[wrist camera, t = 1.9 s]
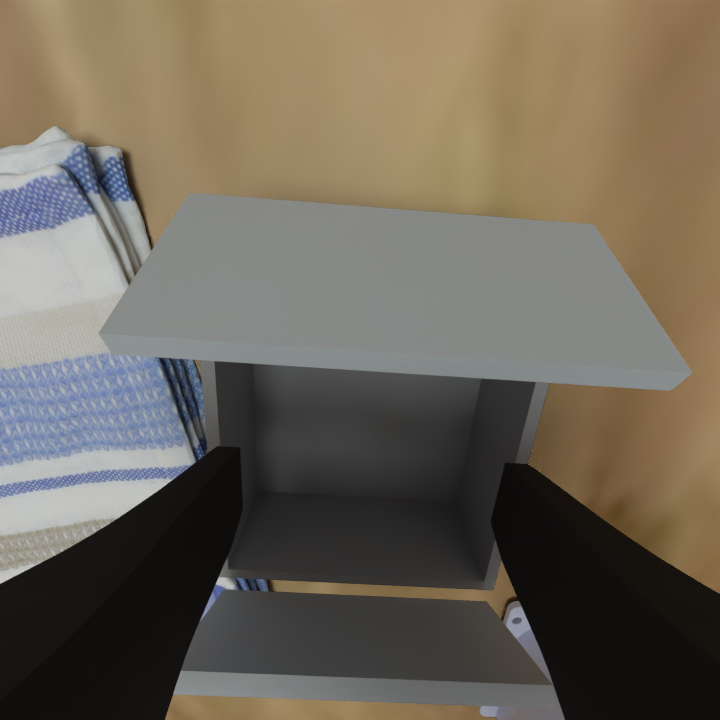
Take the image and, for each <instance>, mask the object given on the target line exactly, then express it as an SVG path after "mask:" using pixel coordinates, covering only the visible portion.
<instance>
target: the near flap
mask: <svg viewBox="0 0 720 720" xmlns="http://www.w3.org/2000/svg"><path fill="white" fill-rule="evenodd" d="M98 334H99V336H100V337H101V338H102V340H103V341H104V343H105V344H106V346H107V347H108V349H109V350H110V352H111V353H112V354H114V355H129V356H145V357H160V358H175V359H191V360H206V361H222V362H237V363H252V364H268V365H283V366H299V367H314V368H329V369H345V370H360V371H376V372H391V373H406V374H422V375H437V376H453V377H468V378H483V379H499V380H514V381H530V382H545V383H560V384H576V385H591V386H607V387H622V388H637V389H653V390H668V391H671V390H672V389H674V388H675V387H676V386H677V385H679V384H680V383H681V382H682V381H684V380H685V379H686V378H687V377H688V376H690V375H691V374H692V371H691V370H690V368H689V367H688V365H687V364H686V362H685V361H684V359H683V358H682V356H681V355H680V353H679V352H678V350H677V349H676V347H675V346H674V344H673V343H672V341H671V340H670V338H669V337H668V335H667V334H666V332H665V331H664V329H663V328H662V326H661V325H660V323H659V322H658V320H657V319H656V317H655V316H654V314H653V313H652V311H651V310H650V308H649V307H648V305H647V304H646V302H645V301H644V299H643V298H642V296H641V295H640V293H639V292H638V290H637V289H636V287H635V286H634V284H633V283H632V281H631V280H630V278H629V277H628V275H627V274H626V272H625V271H624V269H623V268H622V266H621V265H620V263H619V262H618V260H617V259H616V257H615V256H614V254H613V253H612V251H611V250H610V248H609V247H608V245H607V244H606V242H605V241H604V239H603V238H602V236H601V235H600V233H599V232H598V230H597V229H596V227H595V226H594V224H582V223H569V222H556V221H544V220H531V219H518V218H505V217H493V216H480V215H467V214H454V213H442V212H429V211H416V210H403V209H391V208H378V207H365V206H352V205H340V204H327V203H314V202H301V201H289V200H276V199H263V198H251V197H238V196H225V195H212V194H200V193H189V194H188V196H187V197H186V199H185V200H184V202H183V203H182V205H181V206H180V208H179V209H178V211H177V212H176V214H175V216H174V217H173V219H172V220H171V222H170V223H169V225H168V226H167V228H166V229H165V231H164V233H163V234H162V236H161V237H160V239H159V240H158V242H157V243H156V245H155V246H154V248H153V249H152V251H151V253H150V254H149V256H148V257H147V259H146V260H145V262H144V263H143V265H142V266H141V268H140V270H139V271H138V273H137V274H136V276H135V277H134V279H133V280H132V282H131V283H130V285H129V286H128V288H127V290H126V291H125V293H124V294H123V296H122V297H121V299H120V300H119V302H118V303H117V305H116V306H115V308H114V310H113V311H112V313H111V314H110V316H109V317H108V319H107V320H106V322H105V323H104V325H103V327H102V328H101V330H100V331H99V333H98Z"/></svg>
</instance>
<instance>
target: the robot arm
mask: <svg viewBox="0 0 720 720" xmlns="http://www.w3.org/2000/svg"><path fill="white" fill-rule="evenodd" d="M242 510H243V498H242V476H241V455H240V447H226V446H217V447H215V448H214V449H212V450H211V451H210V452H208V453H207V454H206V455H205V456H203V457H202V458H201V459H199V460H198V461H197V462H195V463H194V464H193V465H192V466H190V467H189V468H188V469H186V470H185V471H184V472H182V473H181V474H180V475H178V476H177V477H176V478H174V479H173V480H172V481H170V482H169V483H168V484H166V485H165V486H164V487H162V488H161V489H160V490H158V491H157V492H156V493H154V494H153V495H151V496H150V497H148V498H147V499H145V500H144V501H142V502H141V503H139V504H138V505H137V506H135V507H134V508H132V509H131V510H129V511H128V512H126V513H125V514H123V515H122V516H120V517H119V518H118V519H116V520H114V521H113V522H111V523H110V524H108V525H106V526H105V527H103V528H102V529H100V530H98V531H97V532H95V533H93V534H92V535H90V536H88V537H87V538H85V539H83V540H81V541H80V542H78V543H76V544H75V545H73V546H71V547H69V548H68V549H66V550H64V551H62V552H60V553H59V554H57V555H55V556H53V557H51V558H49V559H47V560H45V561H43V562H41V563H39V564H38V565H36V566H34V567H32V568H30V569H28V570H26V571H24V572H22V573H20V574H18V575H16V576H14V577H12V578H10V579H8V580H6V581H4V582H3V583H1V584H0V720H165V717H166V714H167V711H168V708H169V705H170V702H171V699H172V696H173V693H174V690H175V687H176V684H177V681H178V678H179V675H180V672H181V669H182V666H183V663H184V660H185V657H186V654H187V652H188V649H189V647H190V644H191V641H192V639H193V636H194V634H195V631H196V629H197V627H198V624H199V622H200V620H201V617H202V615H203V613H204V610H205V608H206V606H207V603H208V601H209V599H210V596H211V594H212V592H213V589H214V587H215V585H216V582H217V580H218V578H219V575H220V573H221V571H222V568H223V566H224V564H225V561H226V559H227V557H228V554H229V552H230V549H231V547H232V544H233V541H234V538H235V534H236V531H237V528H238V524H239V521H240V517H241V514H242ZM491 525H492V529H493V532H494V536H495V540H496V543H497V547H498V550H499V553H500V556H501V559H502V562H503V564H504V567H505V569H506V571H507V574H508V576H509V579H510V581H511V583H512V586H513V588H514V590H515V593H516V595H517V597H518V600H519V601H514V602H511V603H510V604H509V605H508V607H507V610H506V613H505V616H504V620H503V623H504V624H505V625H506V627H507V628H508V629H509V630H510V632H511V633H512V634H513V635H514V637H515V638H516V639H517V640H518V642H519V643H520V644H521V645H522V647H523V648H524V649H525V651H526V652H527V653H528V654H529V656H530V657H531V658H532V659H533V661H534V662H535V663H536V664H537V666H538V667H539V668H540V669H541V671H542V672H543V673H544V674H545V676H546V677H547V678H548V679H549V681H550V682H551V683H552V685H553V695H554V709H549V708H523V707H496V706H478V708H479V712H480V714H481V715H483V716H486V717H496V718H497V720H720V594H719V593H717V592H715V591H714V590H712V589H710V588H708V587H707V586H705V585H703V584H701V583H700V582H698V581H696V580H695V579H693V578H692V577H690V576H688V575H687V574H685V573H683V572H682V571H680V570H678V569H677V568H675V567H673V566H672V565H670V564H668V563H667V562H665V561H664V560H662V559H660V558H659V557H657V556H656V555H654V554H653V553H651V552H650V551H648V550H646V549H645V548H644V547H642V546H641V545H639V544H638V543H636V542H635V541H633V540H632V539H630V538H629V537H627V536H626V535H624V534H623V533H621V532H620V531H619V530H617V529H616V528H614V527H613V526H612V525H610V524H609V523H607V522H606V521H604V520H603V519H602V518H600V517H599V516H598V515H596V514H595V513H593V512H592V511H591V510H589V509H588V508H587V507H585V506H584V505H583V504H581V503H580V502H579V501H577V500H576V499H575V498H573V497H572V496H571V495H569V494H568V493H567V492H565V491H564V490H563V489H561V488H560V487H559V486H557V485H556V484H555V483H553V482H552V481H551V480H549V479H548V478H547V477H545V476H544V475H543V474H541V473H540V472H538V471H537V470H536V469H534V468H533V467H531V466H530V465H528V464H520V463H505V465H504V469H503V473H502V477H501V481H500V485H499V489H498V493H497V497H496V501H495V505H494V509H493V513H492V517H491Z"/></svg>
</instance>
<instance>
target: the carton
mask: <svg viewBox="0 0 720 720" xmlns="http://www.w3.org/2000/svg"><path fill="white" fill-rule="evenodd" d="M200 367H201V379H202V392H203V404H204V416H205V428H206V440H207V453H208V452H210V451H211V450H212V449H214V448H215V447H217V446H226V447H240V455H241V476H242V498H243V510H242V514H241V517H240V521H239V524H238V528H237V531H236V534H235V538H234V541H233V544H232V547H231V549H230V552H229V554H228V557H227V559H226V561H225V564H224V566H223V568H222V571H221V573H220V575H219V577H224V578H245V579H266V580H287V581H309V582H330V583H351V584H372V585H393V586H414V587H435V588H456V589H477V590H493V589H494V585H495V582H496V578H497V574H498V571H499V567H500V563H501V560H502V559H501V556H500V553H499V550H498V547H497V543H496V540H495V536H494V532H493V529H492V525H491V517H492V513H493V509H494V505H495V501H496V497H497V493H498V489H499V485H500V481H501V477H502V473H503V469H504V465H505V463H520V464H528V460H529V457H530V453H531V449H532V446H533V442H534V438H535V435H536V431H537V427H538V424H539V420H540V416H541V413H542V409H543V405H544V402H545V398H546V394H547V391H548V387H549V383H545V382H530V381H514V380H499V379H483V378H468V377H453V376H437V375H422V374H406V373H391V372H376V371H360V370H345V369H329V368H314V367H299V366H283V365H268V364H252V363H237V362H222V361H206V360H200Z"/></svg>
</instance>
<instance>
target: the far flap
mask: <svg viewBox="0 0 720 720" xmlns="http://www.w3.org/2000/svg"><path fill="white" fill-rule="evenodd" d="M173 694H179V695H205V696H232V697H258V698H285V699H311V700H338V701H364V702H390V703H417V704H443V705H470V706H496V707H523V708H549V709H554V695H553V685H552V683H551V682H550V681H549V679H548V678H547V677H546V676H545V674H544V673H543V672H542V671H541V669H540V668H539V667H538V666H537V664H536V663H535V662H534V661H533V659H532V658H531V657H530V656H529V654H528V653H527V652H526V651H525V649H524V648H523V647H522V645H521V644H520V643H519V642H518V640H517V639H516V638H515V637H514V635H513V634H512V633H511V632H510V630H509V629H508V628H507V627H506V625H505V624H504V623H503V622H502V620H501V619H500V618H499V616H498V615H497V614H496V613H495V611H494V610H493V609H492V608H491V606H490V605H489V604H488V603H487V602H486V601H464V600H443V599H421V598H400V597H378V596H357V595H335V594H314V593H292V592H271V591H249V590H228V589H224V590H223V591H222V592H221V594H220V595H219V596H218V598H217V599H216V601H215V602H214V603H213V605H212V606H211V608H210V609H209V610H208V612H207V613H206V615H205V616H204V617H203V619H202V620H201V621H200V623H199V624H198V627H197V629H196V631H195V634H194V636H193V639H192V641H191V644H190V647H189V649H188V652H187V654H186V657H185V660H184V663H183V666H182V669H181V672H180V675H179V678H178V681H177V684H176V687H175V690H174V693H173Z"/></svg>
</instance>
